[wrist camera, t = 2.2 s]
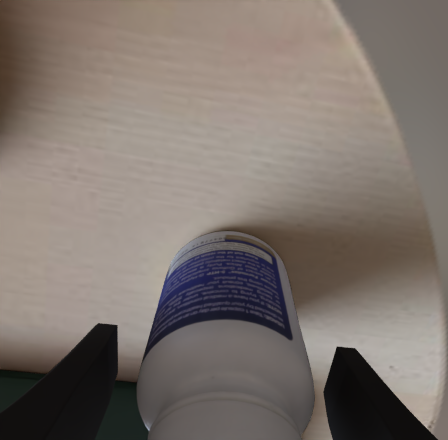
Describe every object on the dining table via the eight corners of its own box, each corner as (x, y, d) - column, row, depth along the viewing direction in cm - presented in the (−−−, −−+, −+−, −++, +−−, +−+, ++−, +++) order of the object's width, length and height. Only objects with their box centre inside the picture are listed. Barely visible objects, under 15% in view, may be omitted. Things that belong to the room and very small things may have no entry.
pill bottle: (142, 266, 16) (55, 478, 8) (246, 204, 15) (263, 384, 7) (211, 347, 18) (195, 587, 10) (309, 298, 17) (381, 528, 9)
